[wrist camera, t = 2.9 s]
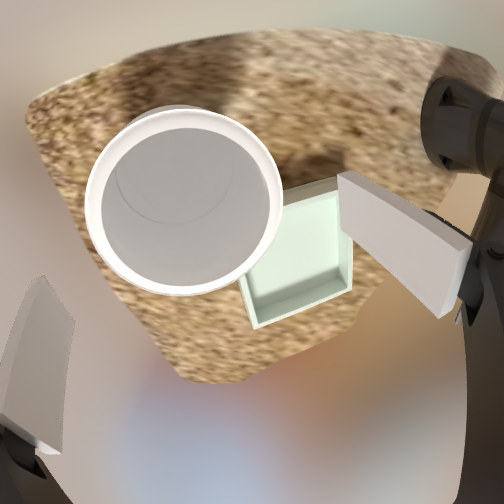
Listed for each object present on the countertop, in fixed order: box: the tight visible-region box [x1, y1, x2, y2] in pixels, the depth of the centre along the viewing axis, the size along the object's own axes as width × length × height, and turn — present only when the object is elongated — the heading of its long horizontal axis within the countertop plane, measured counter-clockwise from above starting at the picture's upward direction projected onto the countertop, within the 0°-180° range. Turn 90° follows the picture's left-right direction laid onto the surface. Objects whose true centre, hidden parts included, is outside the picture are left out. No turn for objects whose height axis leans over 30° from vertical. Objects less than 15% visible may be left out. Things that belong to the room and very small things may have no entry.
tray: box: [237, 176, 353, 329], centre depth 35 cm, size 14×15×4 cm
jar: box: [85, 105, 283, 296], centre depth 20 cm, size 11×10×15 cm
